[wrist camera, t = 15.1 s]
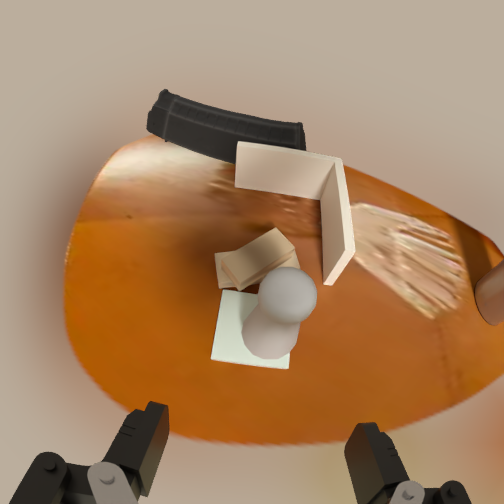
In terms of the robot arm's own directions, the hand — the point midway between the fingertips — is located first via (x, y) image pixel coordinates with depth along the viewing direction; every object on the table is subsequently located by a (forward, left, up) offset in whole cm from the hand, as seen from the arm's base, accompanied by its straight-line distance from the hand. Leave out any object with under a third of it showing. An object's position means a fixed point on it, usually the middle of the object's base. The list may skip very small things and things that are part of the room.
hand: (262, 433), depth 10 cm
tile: (0, -11, -19) cm, 21 cm away
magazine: (+9, -40, -19) cm, 45 cm away
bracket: (-2, -25, -19) cm, 32 cm away
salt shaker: (-2, -9, -18) cm, 21 cm away
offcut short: (+1, -18, -17) cm, 25 cm away
